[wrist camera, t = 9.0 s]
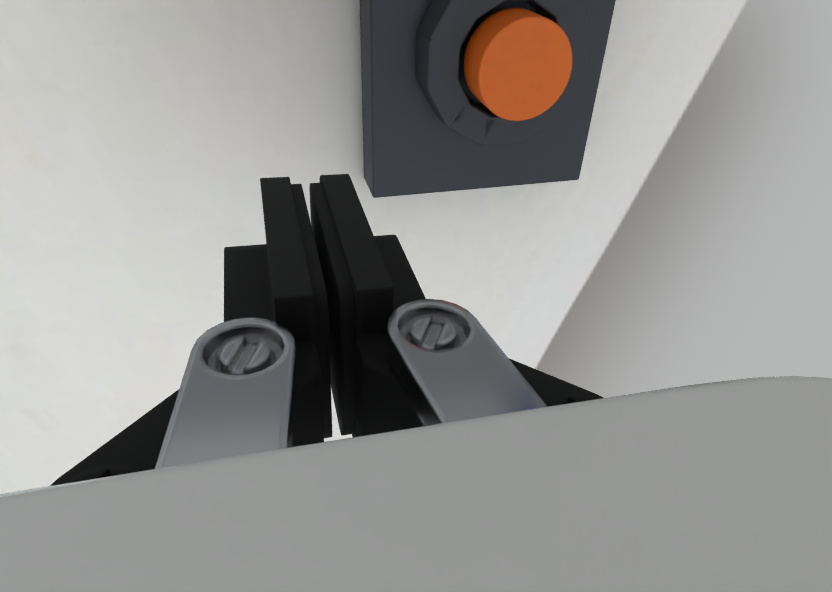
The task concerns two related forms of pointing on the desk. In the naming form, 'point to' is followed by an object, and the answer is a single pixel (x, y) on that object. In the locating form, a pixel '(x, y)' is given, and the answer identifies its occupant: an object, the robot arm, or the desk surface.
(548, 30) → the button
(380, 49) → the control block
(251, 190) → the desk surface
